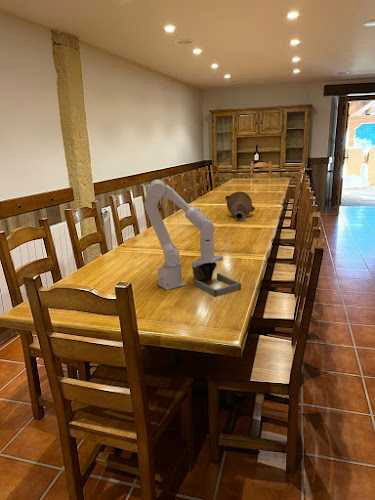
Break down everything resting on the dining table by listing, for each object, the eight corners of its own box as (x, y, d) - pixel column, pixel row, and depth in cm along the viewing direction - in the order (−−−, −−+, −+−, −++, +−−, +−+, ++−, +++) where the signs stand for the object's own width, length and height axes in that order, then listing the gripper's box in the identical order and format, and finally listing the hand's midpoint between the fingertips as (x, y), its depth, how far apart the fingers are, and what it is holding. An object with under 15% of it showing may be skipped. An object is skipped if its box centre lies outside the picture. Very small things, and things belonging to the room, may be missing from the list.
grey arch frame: (215, 296, 145) (215, 290, 144) (194, 285, 158) (193, 279, 157) (240, 289, 151) (240, 283, 150) (218, 278, 164) (218, 273, 163)
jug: (230, 214, 304) (228, 228, 277) (225, 191, 296) (221, 204, 270) (255, 209, 298) (255, 223, 272) (250, 185, 291) (249, 198, 264)
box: (205, 276, 167) (202, 260, 167) (213, 276, 162) (210, 259, 161) (194, 279, 164) (191, 262, 164) (201, 279, 159) (198, 262, 158)
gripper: (197, 254, 149) (199, 286, 153) (227, 247, 156) (227, 278, 160) (188, 250, 155) (190, 281, 159) (217, 244, 162) (218, 273, 166)
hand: (208, 279), depth 160 cm, fingers closed, pressing on box
